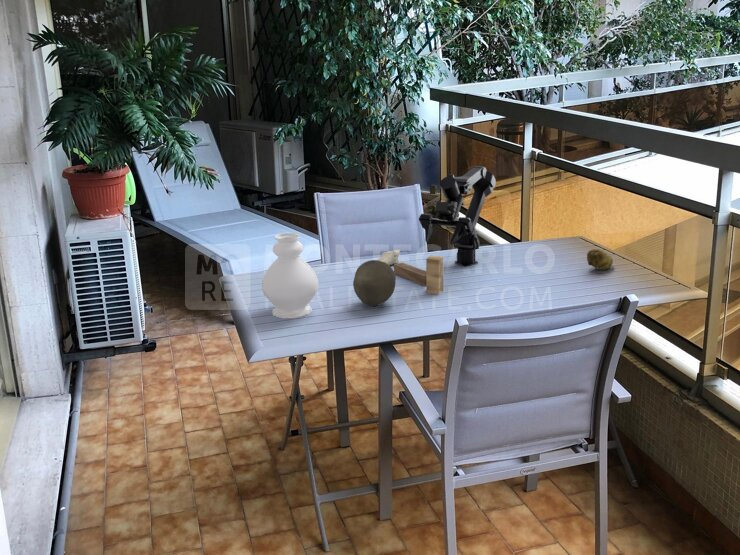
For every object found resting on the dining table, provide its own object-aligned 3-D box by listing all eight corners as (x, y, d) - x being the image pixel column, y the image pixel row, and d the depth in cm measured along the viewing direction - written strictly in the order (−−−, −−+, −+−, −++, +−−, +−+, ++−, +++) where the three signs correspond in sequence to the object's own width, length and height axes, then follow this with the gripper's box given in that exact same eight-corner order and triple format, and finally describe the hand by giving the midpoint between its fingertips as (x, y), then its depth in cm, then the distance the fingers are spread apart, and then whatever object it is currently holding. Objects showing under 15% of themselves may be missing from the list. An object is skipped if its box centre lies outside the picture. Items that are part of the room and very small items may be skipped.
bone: (382, 249, 287) (386, 262, 289) (359, 270, 270) (363, 284, 272) (399, 247, 283) (403, 260, 285) (377, 268, 266) (381, 282, 268)
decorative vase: (272, 325, 225) (267, 246, 217) (257, 307, 241) (251, 233, 233) (327, 315, 232) (324, 238, 224) (309, 299, 247) (305, 226, 240)
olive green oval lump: (621, 269, 270) (623, 247, 267) (594, 274, 264) (596, 253, 262) (605, 263, 277) (607, 242, 274) (578, 268, 271) (580, 247, 269)
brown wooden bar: (402, 271, 274) (402, 262, 273) (433, 283, 260) (433, 273, 259) (393, 273, 272) (393, 264, 271) (424, 285, 257) (424, 276, 256)
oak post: (430, 288, 254) (430, 255, 251) (443, 290, 252) (443, 256, 249) (426, 292, 250) (426, 258, 247) (438, 294, 249) (438, 259, 245)
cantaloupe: (345, 303, 242) (343, 259, 238) (382, 295, 249) (381, 252, 244) (366, 316, 230) (365, 270, 226) (405, 307, 237) (404, 263, 232)
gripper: (421, 190, 260) (407, 225, 253) (471, 194, 251) (458, 231, 244) (430, 210, 268) (416, 245, 261) (478, 215, 260) (465, 250, 253)
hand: (438, 242), depth 255 cm, fingers open, 9 cm apart
